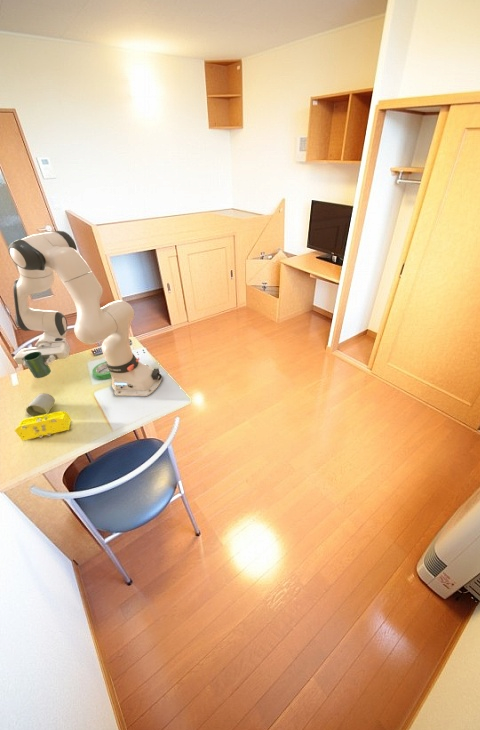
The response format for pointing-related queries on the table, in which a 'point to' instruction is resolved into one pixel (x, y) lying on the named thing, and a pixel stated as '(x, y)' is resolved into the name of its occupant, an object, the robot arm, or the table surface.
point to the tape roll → (101, 375)
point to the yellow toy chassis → (43, 425)
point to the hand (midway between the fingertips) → (36, 365)
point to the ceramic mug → (40, 405)
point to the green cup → (37, 364)
